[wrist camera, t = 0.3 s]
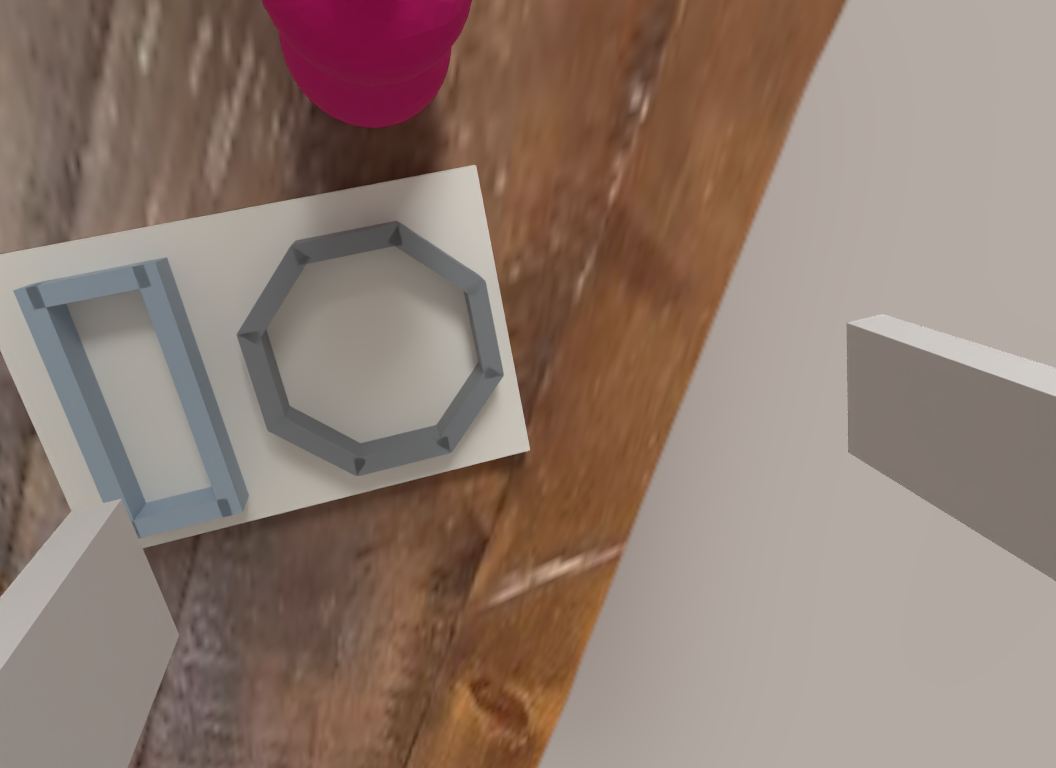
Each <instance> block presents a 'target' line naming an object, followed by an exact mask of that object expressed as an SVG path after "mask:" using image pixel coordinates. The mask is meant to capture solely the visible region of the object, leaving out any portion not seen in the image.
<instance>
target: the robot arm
mask: <svg viewBox="0 0 1056 768" xmlns="http://www.w3.org/2000/svg"><path fill="white" fill-rule="evenodd" d="M847 381H848V452H849V453H850V454H852V455H854V456H855V457H857V458H858V459H860V460H862V461H863V462H865V463H866V464H868V465H870V466H871V467H873V468H875V469H876V470H878V471H880V472H881V473H883V474H884V475H886V476H887V477H889V478H891V479H892V480H894V481H896V482H897V483H899V484H900V485H902V486H904V487H905V488H907V489H908V490H910V491H912V492H913V493H915V494H916V495H918V496H920V497H921V498H923V499H924V500H926V501H928V502H929V503H931V504H933V505H934V506H936V507H937V508H939V509H941V510H942V511H944V512H945V513H947V514H949V515H950V516H952V517H954V518H955V519H957V520H958V521H960V522H962V523H963V524H965V525H967V526H968V527H970V528H971V529H973V530H975V531H976V532H978V533H979V534H981V535H983V536H984V537H986V538H987V539H989V540H991V541H992V542H994V543H995V544H997V545H999V546H1000V547H1002V548H1004V549H1005V550H1007V551H1008V552H1010V553H1012V554H1013V555H1015V556H1016V557H1018V558H1020V559H1021V560H1023V561H1025V562H1026V563H1028V564H1029V565H1031V566H1033V567H1034V568H1036V569H1038V570H1039V571H1041V572H1042V573H1044V574H1045V575H1047V576H1049V577H1051V578H1052V579H1054V580H1055V581H1056V368H1054V367H1051V366H1047V365H1045V364H1041V363H1038V362H1035V361H1032V360H1029V359H1025V358H1022V357H1019V356H1015V355H1012V354H1009V353H1006V352H1003V351H999V350H996V349H993V348H990V347H987V346H983V345H980V344H977V343H974V342H970V341H967V340H964V339H961V338H958V337H955V336H951V335H948V334H945V333H942V332H939V331H935V330H932V329H929V328H926V327H923V326H919V325H916V324H913V323H909V322H906V321H903V320H899V319H897V318H894V317H890V316H887V315H884V314H881V315H877V316H873V317H869V318H865V319H860V320H856V321H852V322H848V323H847ZM178 637H179V633H178V631H177V629H176V626H175V624H174V621H173V619H172V617H171V614H170V612H169V610H168V607H167V605H166V603H165V600H164V598H163V596H162V593H161V591H160V588H159V586H158V584H157V581H156V579H155V577H154V574H153V572H152V570H151V567H150V565H149V562H148V560H147V558H146V555H145V553H144V551H143V548H142V546H141V544H140V541H139V539H138V536H137V534H136V532H135V529H134V527H133V525H132V522H131V520H130V518H129V515H128V513H127V510H126V508H125V506H124V503H123V501H122V499H118V500H114V501H110V502H106V503H102V504H98V505H93V506H89V507H85V508H81V509H77V510H73V511H71V512H70V513H69V515H68V516H67V517H66V518H65V519H64V521H63V522H62V523H61V524H60V525H59V527H58V528H57V529H56V530H55V532H54V533H53V534H52V535H51V536H50V538H49V539H48V540H47V541H46V542H45V544H44V545H43V546H42V547H41V548H40V550H39V551H38V552H37V553H36V555H35V556H34V557H33V558H32V559H31V561H30V562H29V563H28V564H27V565H26V567H25V568H24V569H23V570H22V572H21V573H20V574H19V575H18V576H17V578H16V579H15V580H14V581H13V582H12V584H11V585H10V586H9V587H8V589H7V590H6V591H5V592H4V593H3V595H2V596H1V597H0V768H128V766H129V763H130V761H131V758H132V755H133V753H134V750H135V748H136V745H137V743H138V740H139V737H140V735H141V732H142V730H143V727H144V724H145V722H146V719H147V717H148V714H149V712H150V709H151V706H152V704H153V701H154V699H155V696H156V694H157V691H158V688H159V686H160V683H161V681H162V678H163V676H164V673H165V670H166V668H167V665H168V663H169V660H170V657H171V655H172V652H173V650H174V647H175V645H176V642H177V639H178Z"/></svg>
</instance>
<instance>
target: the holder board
mask: <svg viewBox="0 0 1056 768" xmlns="http://www.w3.org/2000/svg"><path fill="white" fill-rule="evenodd" d="M0 351H1V353H2V356H3V358H4V360H5V362H6V365H7V367H8V369H9V371H10V374H11V376H12V378H13V380H14V383H15V385H16V387H17V389H18V392H19V394H20V396H21V398H22V401H23V403H24V405H25V407H26V410H27V412H28V414H29V416H30V419H31V421H32V423H33V425H34V428H35V430H36V432H37V435H38V437H39V439H40V441H41V444H42V446H43V448H44V450H45V453H46V455H47V457H48V459H49V462H50V464H51V466H52V468H53V471H54V473H55V475H56V477H57V480H58V482H59V484H60V486H61V489H62V491H63V493H64V495H65V498H66V500H67V502H68V504H69V507H70V509H71V511H73V510H77V509H81V508H85V507H89V506H93V505H98V504H102V503H106V502H110V501H114V500H118V499H122V501H123V503H124V506H125V508H126V510H127V513H128V515H129V518H130V520H131V522H132V525H133V527H134V529H135V532H136V534H137V536H138V539H139V541H140V544H141V546H142V548H146V547H150V546H154V545H158V544H162V543H166V542H170V541H174V540H178V539H182V538H186V537H190V536H194V535H198V534H202V533H206V532H210V531H214V530H218V529H221V528H225V527H229V526H233V525H237V524H241V523H245V522H249V521H253V520H257V519H261V518H265V517H269V516H273V515H277V514H281V513H285V512H289V511H293V510H297V509H300V508H304V507H308V506H312V505H316V504H320V503H324V502H328V501H332V500H336V499H340V498H344V497H348V496H352V495H356V494H360V493H364V492H368V491H372V490H375V489H379V488H383V487H387V486H391V485H395V484H399V483H403V482H407V481H411V480H415V479H419V478H423V477H427V476H431V475H435V474H439V473H443V472H447V471H450V470H454V469H458V468H462V467H466V466H470V465H474V464H478V463H482V462H486V461H490V460H494V459H498V458H502V457H506V456H510V455H514V454H518V453H522V452H526V451H529V450H530V447H529V441H528V436H527V431H526V426H525V420H524V415H523V410H522V405H521V399H520V394H519V389H518V384H517V378H516V373H515V368H514V363H513V357H512V352H511V347H510V342H509V336H508V331H507V326H506V321H505V315H504V310H503V305H502V300H501V294H500V289H499V284H498V279H497V273H496V268H495V263H494V257H493V252H492V247H491V242H490V236H489V231H488V226H487V221H486V215H485V210H484V205H483V200H482V194H481V189H480V184H479V179H478V173H477V168H476V165H470V166H465V167H460V168H455V169H449V170H444V171H439V172H433V173H428V174H423V175H418V176H412V177H407V178H402V179H396V180H391V181H386V182H380V183H375V184H370V185H365V186H359V187H354V188H349V189H343V190H338V191H333V192H328V193H322V194H317V195H312V196H306V197H301V198H296V199H290V200H285V201H280V202H275V203H269V204H264V205H259V206H253V207H248V208H243V209H238V210H232V211H227V212H222V213H216V214H211V215H206V216H200V217H195V218H190V219H185V220H179V221H174V222H169V223H163V224H158V225H153V226H148V227H142V228H137V229H132V230H126V231H121V232H116V233H110V234H105V235H100V236H95V237H89V238H84V239H79V240H73V241H68V242H63V243H58V244H52V245H47V246H42V247H36V248H31V249H26V250H21V251H15V252H10V253H5V254H0Z"/></svg>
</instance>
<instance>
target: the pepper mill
mask: <svg viewBox="0 0 1056 768" xmlns="http://www.w3.org/2000/svg"><path fill="white" fill-rule="evenodd" d="M262 2H263V5H264V7H265V9H266V11H267V12H268V14H269V16H270V18H271V20H272V21H273V23H274V25H275V27H276V28H277V29H278V30H279V36H280V42H281V48H282V52H283V55H284V58H285V61H286V64H287V66H288V69H289V71H290V73H291V75H292V77H293V79H294V80H295V82H296V83H297V85H298V86H299V88H300V89H301V91H302V92H303V93H304V94H305V95H306V96H307V97H308V98H309V100H310V101H311V102H313V103H314V104H315V105H316V106H317V107H318V108H320V109H321V110H322V111H324V112H325V113H327V114H329V115H330V116H332V117H333V118H335V119H338V120H340V121H343V122H345V123H347V124H350V125H355V126H360V127H366V128H381V127H388V126H393V125H396V124H399V123H402V122H405V121H407V120H408V119H410V118H412V117H413V116H415V115H417V114H418V113H420V112H421V111H422V110H423V109H424V108H425V107H426V106H427V105H428V104H429V103H430V102H431V101H432V100H433V98H434V97H435V96H436V94H437V93H438V91H439V89H440V87H441V86H442V84H443V81H444V79H445V76H446V73H447V71H448V66H449V62H450V55H451V47H452V45H453V44H454V42H455V41H456V39H457V38H458V36H459V35H460V33H461V31H462V29H463V27H464V24H465V22H466V20H467V17H468V14H469V10H470V6H471V2H472V0H262Z"/></svg>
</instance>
